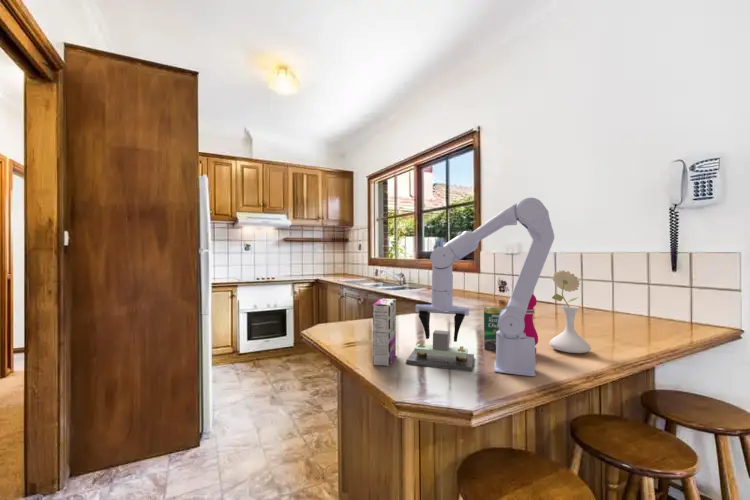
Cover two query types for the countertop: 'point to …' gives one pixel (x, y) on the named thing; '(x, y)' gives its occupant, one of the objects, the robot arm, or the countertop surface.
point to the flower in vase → (568, 317)
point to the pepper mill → (530, 320)
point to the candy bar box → (384, 332)
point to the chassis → (441, 360)
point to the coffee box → (491, 327)
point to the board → (450, 352)
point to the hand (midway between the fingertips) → (441, 339)
